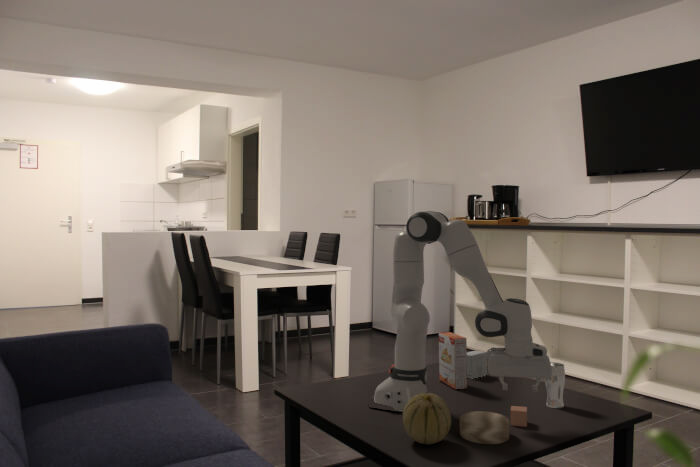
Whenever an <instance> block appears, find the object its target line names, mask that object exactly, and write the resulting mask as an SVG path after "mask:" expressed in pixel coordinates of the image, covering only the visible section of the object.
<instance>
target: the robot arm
mask: <svg viewBox="0 0 700 467" xmlns="http://www.w3.org/2000/svg"><path fill="white" fill-rule="evenodd" d="M394 239H395V240H394V244H393V254H392V255H393V256H392V257H393V259H392V261H393V262H392V264H393V266H392V267H393V268H392V269H393V285H392V286H393V287H392V296H391V311H390V312H391V317H392V319H393V321H394V323H396V324H397V325H396V326H397V331H396V339H395V344H394V364H392V365H390V368H389V369H388V374H389V377H387V378H386V379H385V380H384V381H382V382H381V383H380V384H378V385H377V386H376V388H375V391H374V396H373V397H374V402H375V403H378V404H383V405H387V406H391V407H393V408H394V409H395V410H399V411H404V408H405V406H406V404H407V403H408V402H409V400H410V399H411V398H412V397H414V396H416V395H418V394H421V393H428V389H427V382H428V369H427V367H426V343H427V335H428V329H429V324H430V320H431V319H430V317H431V316H430V312H429V311H428V309H427V307H426V305H425V304H423V303H422V293H423V288H424V283H425V266H424V264H425V263H424V262H425V260H424V250H425V247H426V245H427V244H428V245H430V244H433V243H435V242H439V243H440V244H441V245H442V247H443V248H444V251H445V253H446V255H447V258H448V260H449V263H450V265H451V267H452V268H453V270H454V271H455V274H457V275H458V276H461V277H463V278H465V279H467V280H468V281H470V282H471V283H473V285H474V287H475V288H476V290H477V292H478V294H479V296H480V299H481V302H482V303H483V305H484V308H485V309H482V310H481V311H480V312H478V313H477V315H476V316H475V319H474V325H475V328H476V331H477V332H478V333H479V334H480V335H481V336H483V337H486V338H496V337H504V347H493V346H492V347H490V348H489V349H487V350H486V352H487V360H488V363H487V375H489V376H490V377H498V380H499V382H500V383H501V385H502V390H503V391H507V390H508V383H505V381H504V379H505V378H504V377H507V378H528V379H536V381H535V382H536V383H535V384H532V392H537V393H538V391H539V390H538V386H539V385H540V384H541V380H542V379H545V378H546V379H550V378H551V377H552V369H551V363H550V362H551V360H550V357H549V355H548V349H547V347H546V346H545V345H541V344H538V343H536V342H534V341H533V337H532V328H533V319H532V311H531V306H530V304H529V303H528V302H527V301H526V300H523V299H519V298H511V297H510V298H506V299H505V300H503V298H502V296H501V295H500V293H499V290H498V288H497V287H496V284H495V282H494V280H493V277H492V275H491V274H490V272H489V270H488V267H487V265H486V263H485V260H484V257H483V254H482V253H481V249H480V247H479V244H478V242H477V241H476V238H475V236H474V234H473V232H472V231H471V228H470V227H469V226H468V224H467V223H466V222H465V221H464V220H461V219H452V220H449V218H448V217H447V216H446V215H445V214H444V213H443V212H438V211H433V210H427V211H418V212H416V213H414V214H412V215H411V216H409V218H408V219H407V221H406V226H405V230H403V231H400V232H399V233H397V234H396V236H395V238H394Z"/></svg>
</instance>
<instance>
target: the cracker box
mask: <svg viewBox="0 0 700 467" xmlns="http://www.w3.org/2000/svg"><path fill="white" fill-rule="evenodd" d="M467 347H468V346H467V337H465V336H463V335H459V334H457V333H453V332H451V331H447V332H446V331H445V332H439V333H438V364H439V365H438V368H439V370H438V371H439V373H438V374H439V381H440V380H441V381H443V382H444V383H446V384H447V385H449V386H451V387H452V388H454V389H460V390H465V389H464V388H467V389H468V379H467V352H468V351H467ZM444 383H443V384H444ZM447 385H446V386H447ZM449 386H448V387H449ZM451 387H450V388H451ZM452 388H451V389H452ZM454 389H453V390H454Z"/></svg>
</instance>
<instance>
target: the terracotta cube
mask: <svg viewBox="0 0 700 467" xmlns="http://www.w3.org/2000/svg"><path fill="white" fill-rule="evenodd" d="M510 426H513V427H514V426H515V427H523V428H526V427H528V407H527V406H520V405H519V406H517V405H511V407H510Z"/></svg>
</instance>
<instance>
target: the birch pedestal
mask: <svg viewBox="0 0 700 467" xmlns="http://www.w3.org/2000/svg"><path fill="white" fill-rule="evenodd" d="M459 436H460V437H461V438H463V440H465V441H468V442H471V443H474V444H482V445H499V444H503V443H506V442H508V441H509V440H510V419H509V418H508V417H507V416H505V415H503V414H500V413H497V412H494V411H493V412H492V411H485V410H483V411H482V410H480V411H479V410H478V411H475V410H474V411H468V412H465V413H462V414H461V415H460V416H459Z"/></svg>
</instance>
